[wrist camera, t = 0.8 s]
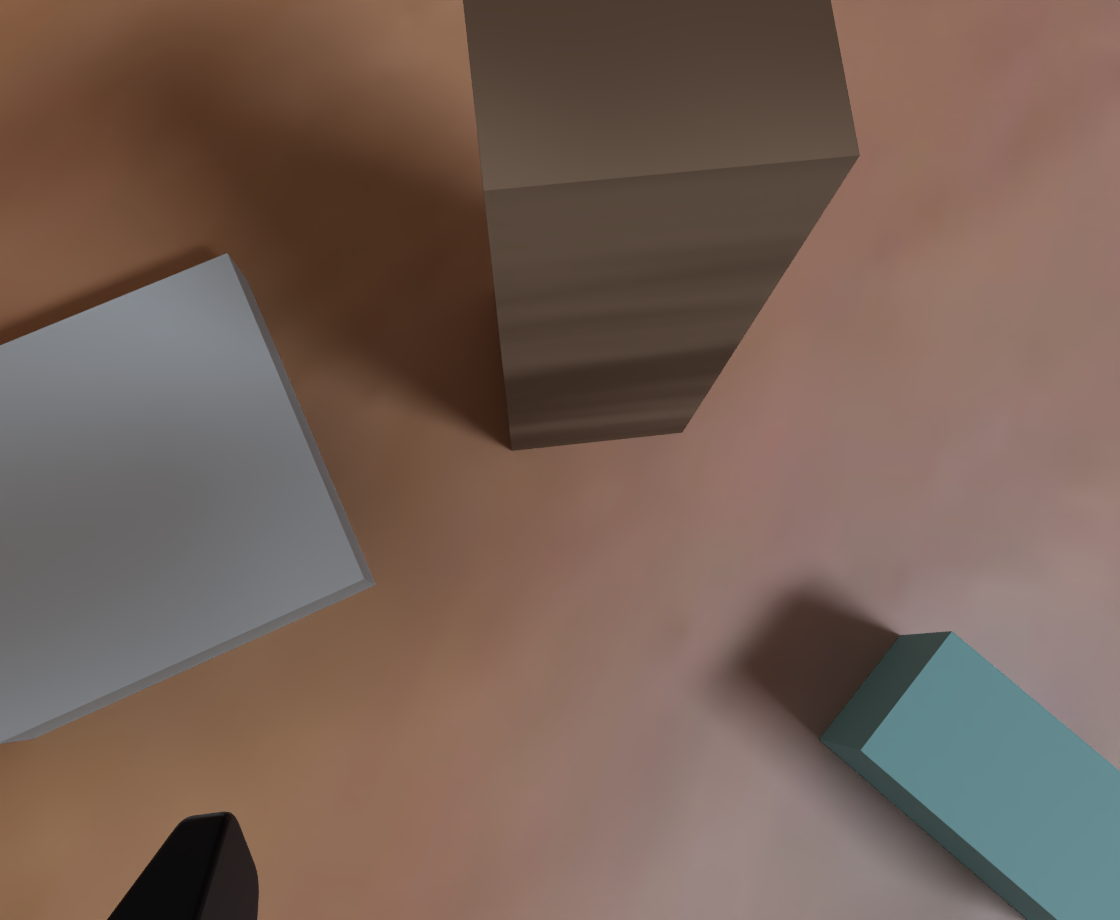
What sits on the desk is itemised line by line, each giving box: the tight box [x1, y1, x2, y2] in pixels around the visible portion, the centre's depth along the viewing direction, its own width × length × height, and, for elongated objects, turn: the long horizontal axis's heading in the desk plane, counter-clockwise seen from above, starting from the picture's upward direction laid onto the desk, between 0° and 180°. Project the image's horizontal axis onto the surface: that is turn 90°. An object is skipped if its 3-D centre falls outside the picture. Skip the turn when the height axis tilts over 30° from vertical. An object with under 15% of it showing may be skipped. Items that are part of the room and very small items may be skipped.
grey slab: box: [0, 253, 376, 744], centre depth 22 cm, size 8×8×2 cm
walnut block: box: [463, 0, 860, 451], centre depth 17 cm, size 4×4×13 cm
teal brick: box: [819, 631, 1120, 920], centre depth 21 cm, size 6×3×3 cm, turn 49°
